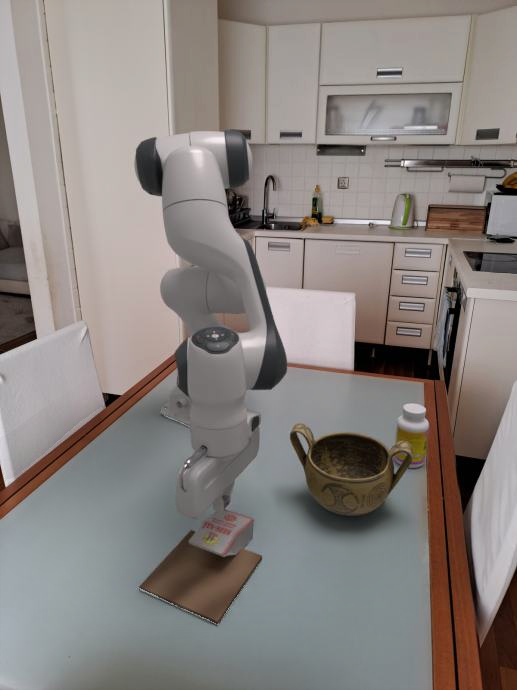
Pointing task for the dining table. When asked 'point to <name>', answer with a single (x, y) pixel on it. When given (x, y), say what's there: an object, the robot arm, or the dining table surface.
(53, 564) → the dining table surface
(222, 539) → the white red-printed box
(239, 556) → the walnut board
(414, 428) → the supplement bottle
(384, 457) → the ceramic bowl
